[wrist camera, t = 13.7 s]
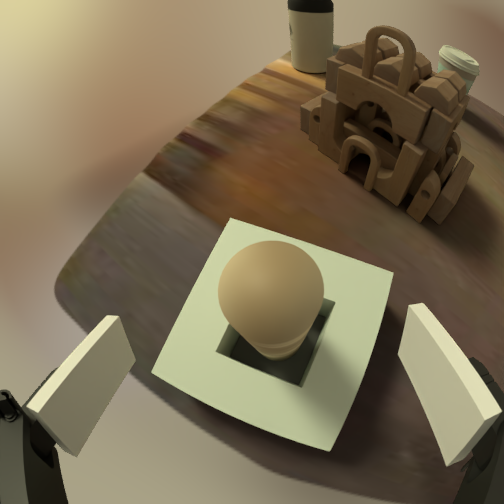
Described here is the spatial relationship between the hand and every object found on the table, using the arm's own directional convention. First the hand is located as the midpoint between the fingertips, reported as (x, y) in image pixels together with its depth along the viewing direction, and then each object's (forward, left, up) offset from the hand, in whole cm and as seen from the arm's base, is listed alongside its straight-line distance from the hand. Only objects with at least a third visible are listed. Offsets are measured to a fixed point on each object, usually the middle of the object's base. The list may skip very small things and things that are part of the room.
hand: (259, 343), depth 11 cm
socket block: (0, -2, -12) cm, 12 cm away
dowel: (0, -2, -12) cm, 12 cm away
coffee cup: (-17, -52, -12) cm, 56 cm away
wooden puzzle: (-5, -28, -13) cm, 31 cm away
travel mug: (+11, -50, -12) cm, 53 cm away
